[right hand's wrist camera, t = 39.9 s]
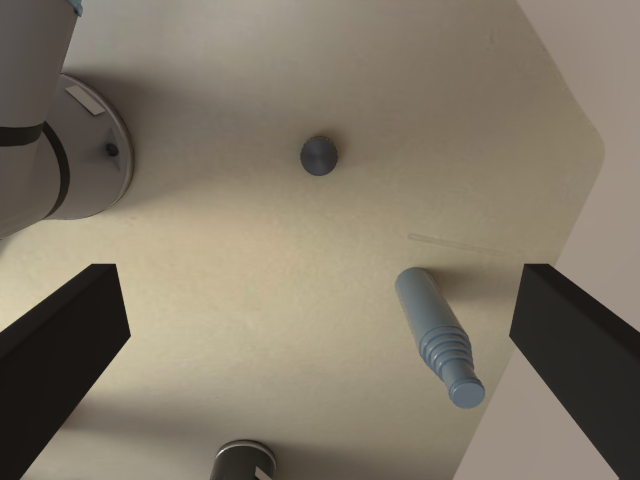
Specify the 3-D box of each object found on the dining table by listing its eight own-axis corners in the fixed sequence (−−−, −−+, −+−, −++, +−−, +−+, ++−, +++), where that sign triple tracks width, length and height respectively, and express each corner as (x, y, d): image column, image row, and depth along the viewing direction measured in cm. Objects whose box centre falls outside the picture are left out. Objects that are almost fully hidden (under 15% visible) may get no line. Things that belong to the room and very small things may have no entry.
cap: (303, 174, 43) (302, 178, 41) (298, 138, 41) (297, 140, 39) (338, 170, 43) (339, 174, 41) (334, 134, 41) (335, 136, 39)
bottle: (433, 266, 47) (501, 369, 29) (433, 300, 49) (496, 417, 31) (394, 269, 47) (438, 374, 30) (395, 303, 49) (437, 421, 31)
